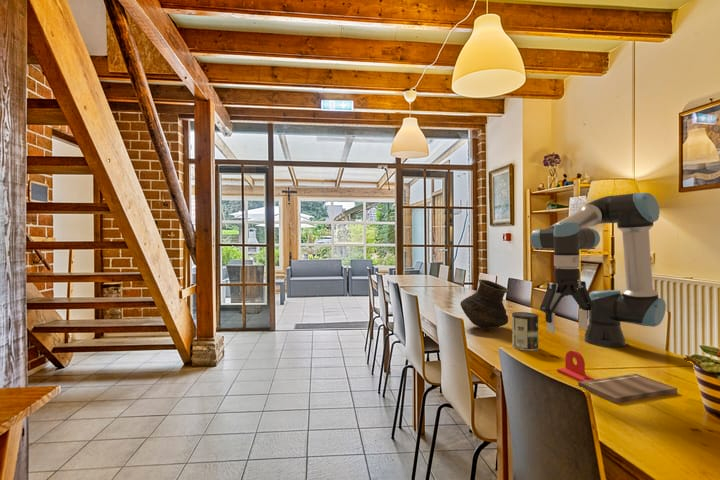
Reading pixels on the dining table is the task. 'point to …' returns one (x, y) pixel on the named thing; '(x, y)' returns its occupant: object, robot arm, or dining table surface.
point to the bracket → (574, 367)
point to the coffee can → (525, 331)
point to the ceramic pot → (486, 305)
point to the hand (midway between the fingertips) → (567, 330)
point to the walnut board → (627, 388)
